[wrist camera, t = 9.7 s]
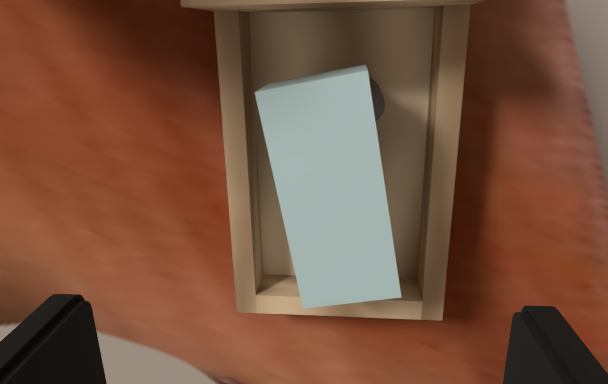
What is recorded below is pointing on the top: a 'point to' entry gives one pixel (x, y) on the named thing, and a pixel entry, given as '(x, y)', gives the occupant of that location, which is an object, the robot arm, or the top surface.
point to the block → (331, 186)
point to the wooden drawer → (389, 123)
